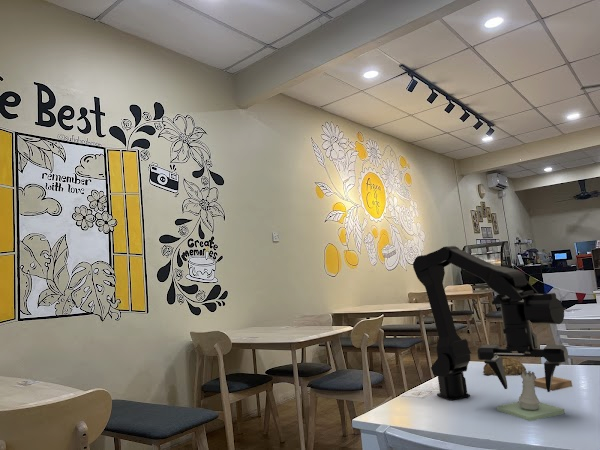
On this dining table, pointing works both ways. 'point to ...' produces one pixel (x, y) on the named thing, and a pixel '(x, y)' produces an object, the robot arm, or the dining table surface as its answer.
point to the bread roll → (507, 367)
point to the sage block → (531, 411)
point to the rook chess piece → (528, 392)
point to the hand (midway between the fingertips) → (526, 390)
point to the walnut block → (553, 383)
